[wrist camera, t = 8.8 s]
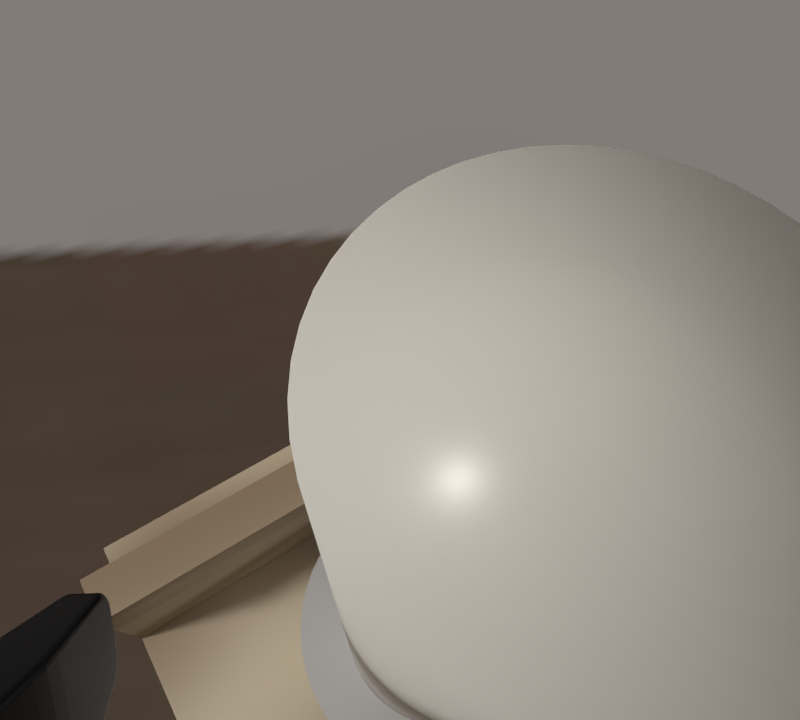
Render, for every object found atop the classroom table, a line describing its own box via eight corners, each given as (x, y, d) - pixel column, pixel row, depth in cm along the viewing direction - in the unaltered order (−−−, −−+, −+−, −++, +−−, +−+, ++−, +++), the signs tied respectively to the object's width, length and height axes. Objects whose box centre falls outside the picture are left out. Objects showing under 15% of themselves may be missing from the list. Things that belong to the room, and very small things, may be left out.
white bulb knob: (573, 765, 15) (1426, 984, 3) (307, 783, 15) (12, 1119, 3) (534, 504, 18) (892, 52, 6) (308, 514, 18) (166, 54, 5)
